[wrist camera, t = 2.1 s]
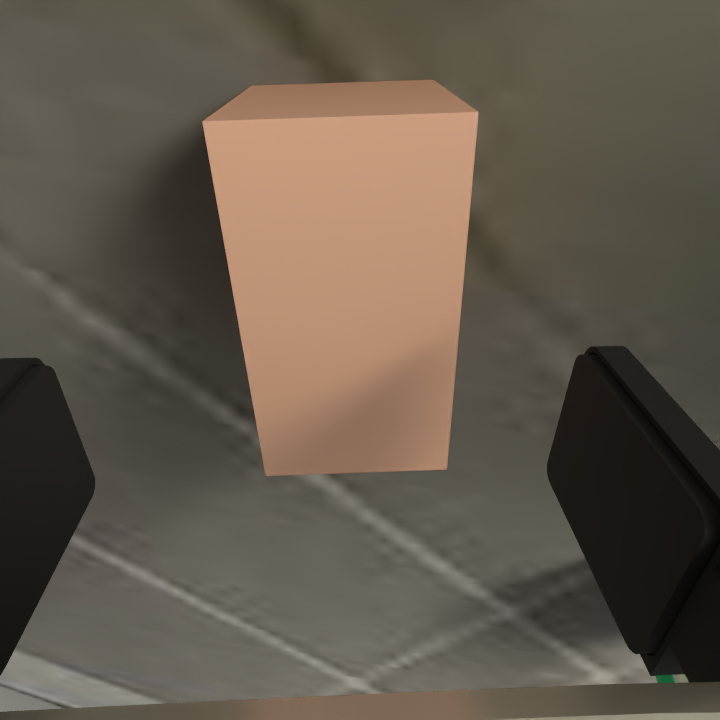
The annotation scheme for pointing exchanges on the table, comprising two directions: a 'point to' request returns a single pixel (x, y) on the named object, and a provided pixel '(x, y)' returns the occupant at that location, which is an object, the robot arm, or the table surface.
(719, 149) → the table surface
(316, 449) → the terracotta block
